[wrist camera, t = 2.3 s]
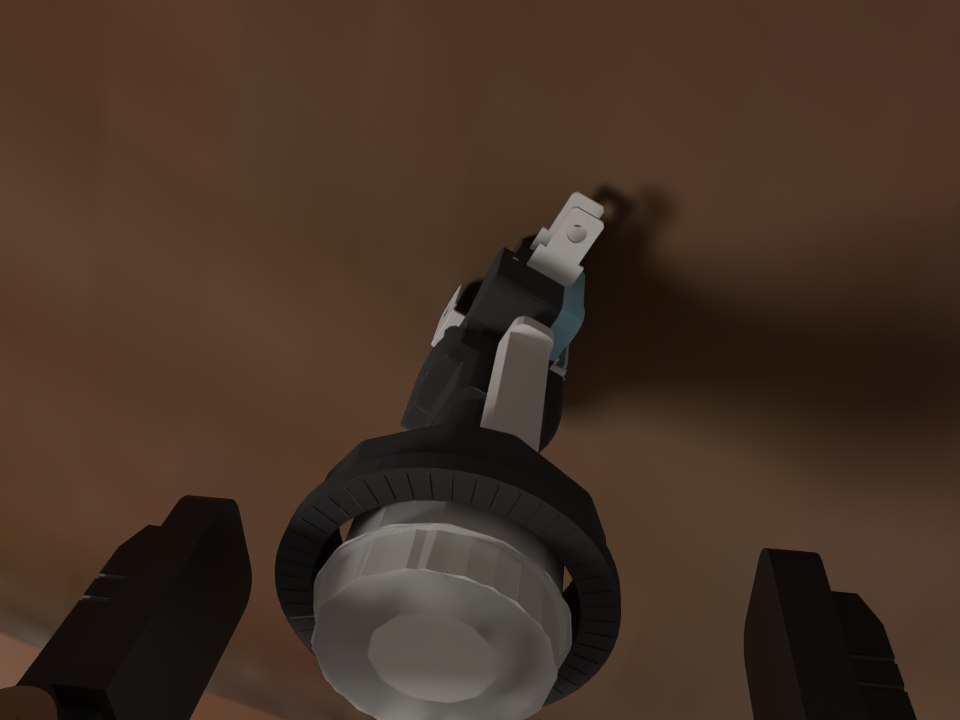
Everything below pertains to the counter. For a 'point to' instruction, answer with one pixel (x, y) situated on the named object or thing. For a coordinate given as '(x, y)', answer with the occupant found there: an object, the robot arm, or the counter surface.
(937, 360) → the counter surface
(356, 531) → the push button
